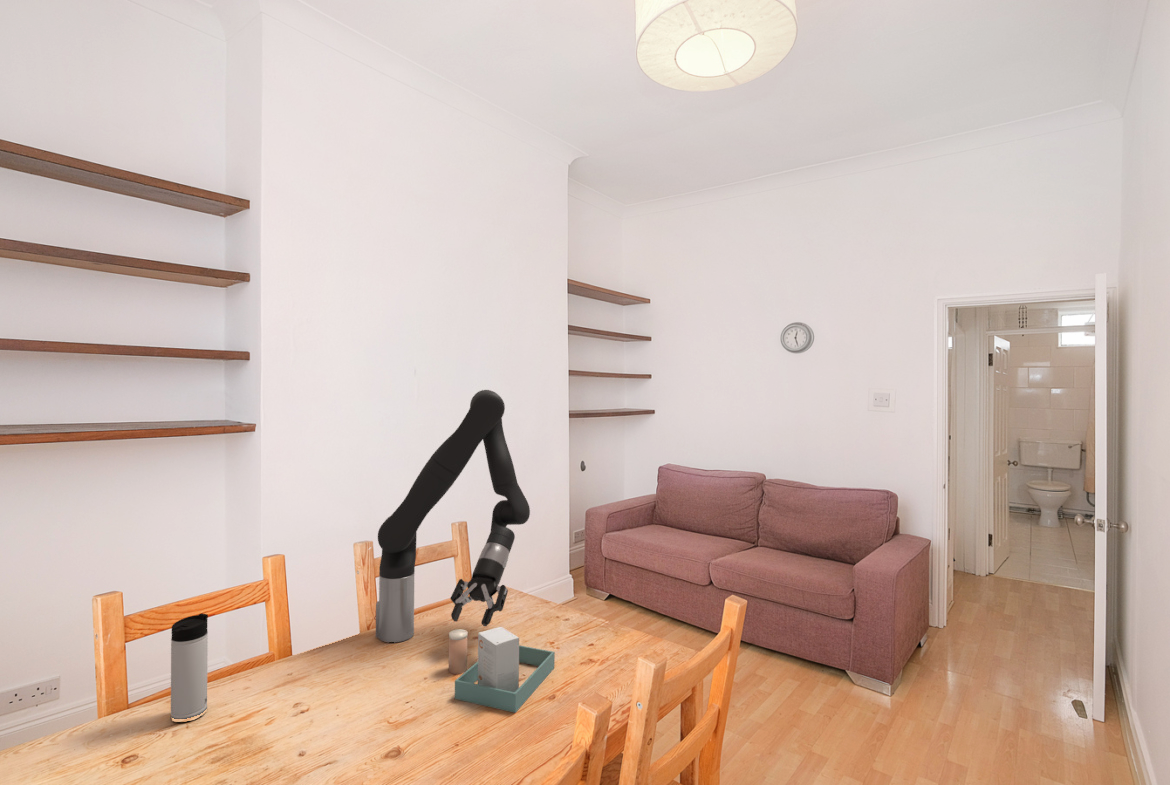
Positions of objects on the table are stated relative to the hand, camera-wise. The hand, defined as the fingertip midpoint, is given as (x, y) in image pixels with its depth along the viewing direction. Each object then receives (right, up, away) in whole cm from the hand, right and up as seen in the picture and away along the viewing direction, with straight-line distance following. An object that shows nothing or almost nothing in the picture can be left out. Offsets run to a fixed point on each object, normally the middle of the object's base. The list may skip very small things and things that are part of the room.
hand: (468, 622), depth 145 cm
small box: (+9, -10, -14) cm, 20 cm away
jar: (-2, -10, -4) cm, 11 cm away
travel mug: (-53, -10, -25) cm, 59 cm away
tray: (+11, -10, -10) cm, 18 cm away
